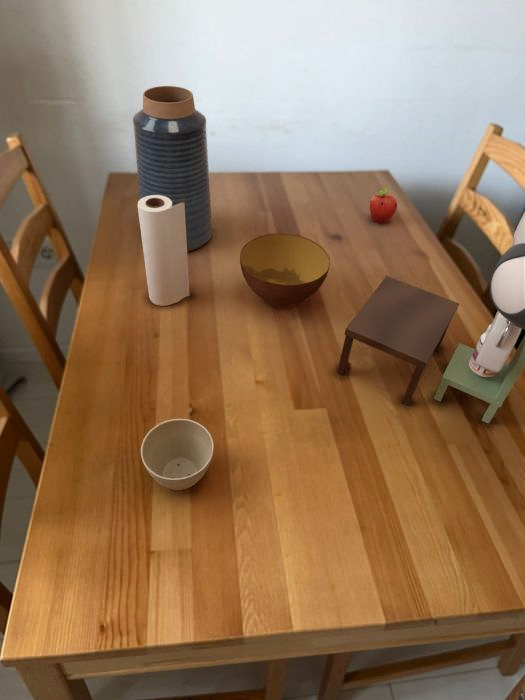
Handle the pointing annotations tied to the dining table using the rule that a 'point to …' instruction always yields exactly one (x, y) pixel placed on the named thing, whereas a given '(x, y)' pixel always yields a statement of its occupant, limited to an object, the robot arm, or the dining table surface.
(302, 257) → the bowl
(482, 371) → the pill bottle
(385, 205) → the red round fruit
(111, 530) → the dining table surface
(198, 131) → the vase
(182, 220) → the paper towel roll
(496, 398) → the chair
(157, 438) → the flower pot
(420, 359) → the toy table
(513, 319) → the robot arm
